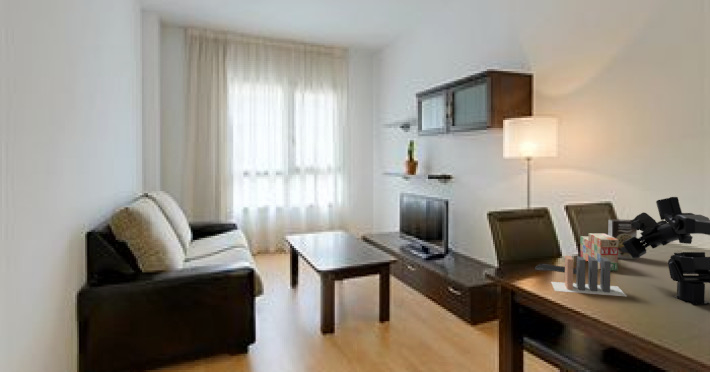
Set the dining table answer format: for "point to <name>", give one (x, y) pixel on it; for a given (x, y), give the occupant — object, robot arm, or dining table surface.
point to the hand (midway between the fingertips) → (630, 244)
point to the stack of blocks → (600, 248)
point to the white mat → (587, 289)
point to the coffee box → (621, 234)
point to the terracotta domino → (569, 272)
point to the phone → (553, 268)
